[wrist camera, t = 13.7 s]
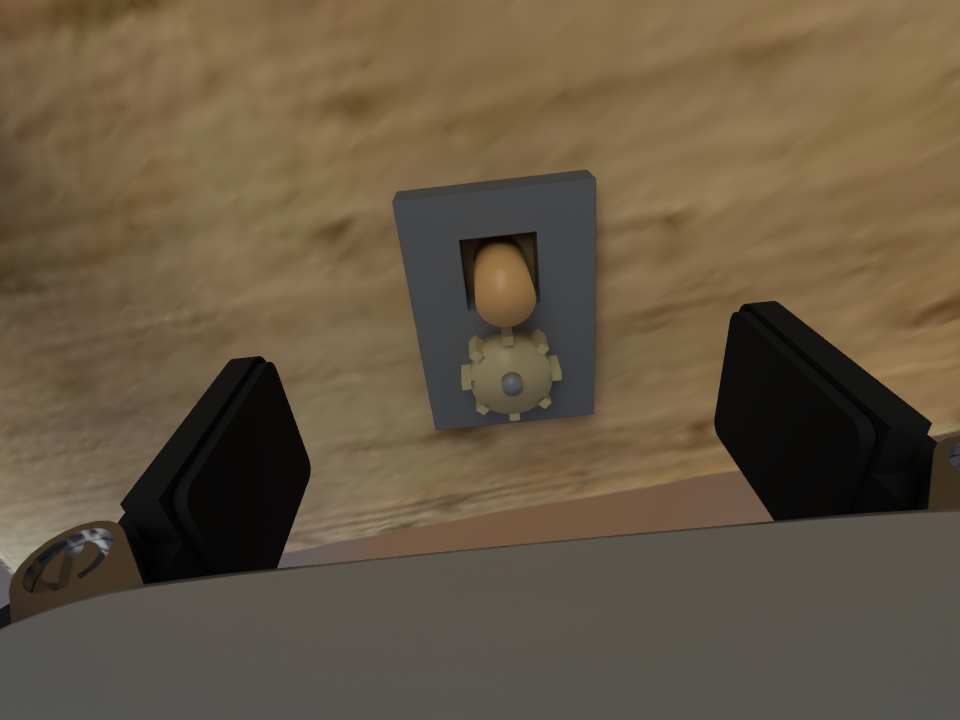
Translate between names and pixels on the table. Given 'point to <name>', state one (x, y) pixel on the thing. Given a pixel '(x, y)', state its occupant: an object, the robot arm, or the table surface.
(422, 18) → the table surface
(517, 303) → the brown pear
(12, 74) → the table surface
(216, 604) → the robot arm
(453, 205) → the housing
